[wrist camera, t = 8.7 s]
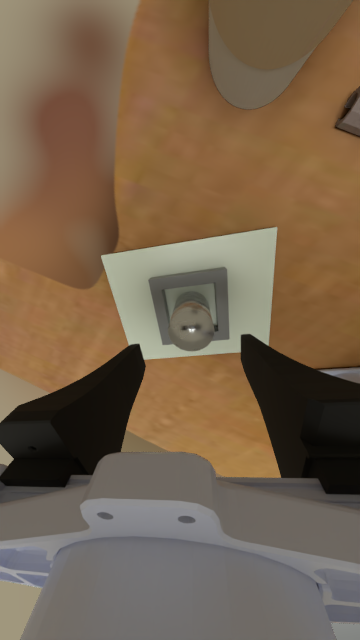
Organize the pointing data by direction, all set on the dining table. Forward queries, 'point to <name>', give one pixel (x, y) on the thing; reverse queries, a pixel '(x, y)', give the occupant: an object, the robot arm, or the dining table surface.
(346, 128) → the metal rod
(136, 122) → the dining table surface
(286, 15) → the coffee cup
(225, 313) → the socket
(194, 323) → the key peg
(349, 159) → the dining table surface
